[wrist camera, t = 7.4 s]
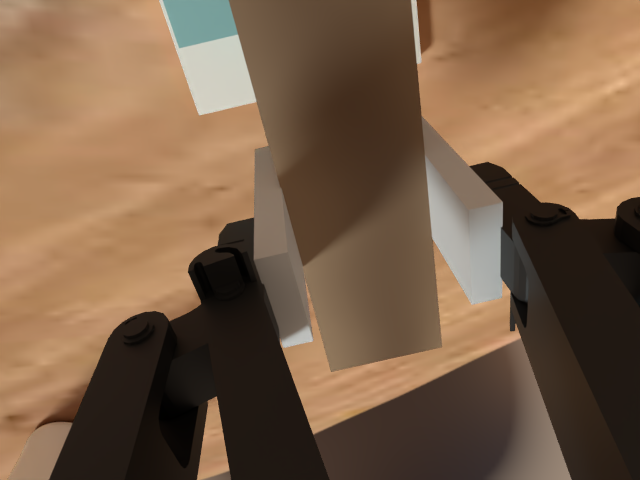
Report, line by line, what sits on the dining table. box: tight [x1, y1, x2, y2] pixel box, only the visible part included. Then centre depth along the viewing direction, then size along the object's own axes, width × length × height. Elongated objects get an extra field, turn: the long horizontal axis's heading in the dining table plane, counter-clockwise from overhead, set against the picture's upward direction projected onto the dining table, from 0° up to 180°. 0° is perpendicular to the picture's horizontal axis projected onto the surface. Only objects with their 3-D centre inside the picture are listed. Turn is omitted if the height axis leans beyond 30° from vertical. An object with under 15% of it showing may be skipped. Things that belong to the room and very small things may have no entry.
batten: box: [229, 0, 442, 372], centre depth 13 cm, size 4×22×4 cm, turn 11°
